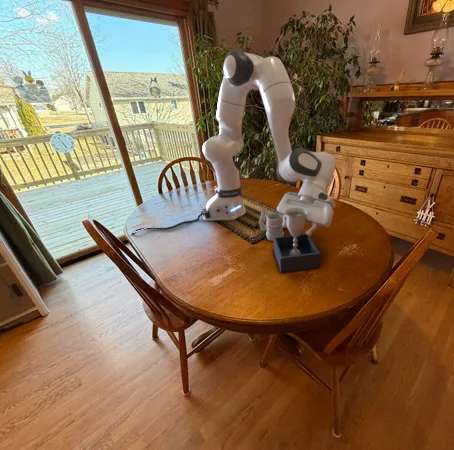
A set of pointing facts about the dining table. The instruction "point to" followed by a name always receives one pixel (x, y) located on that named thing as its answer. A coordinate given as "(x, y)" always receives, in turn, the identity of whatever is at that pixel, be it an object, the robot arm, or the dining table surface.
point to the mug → (271, 224)
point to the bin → (296, 262)
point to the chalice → (295, 226)
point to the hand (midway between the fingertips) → (295, 231)
